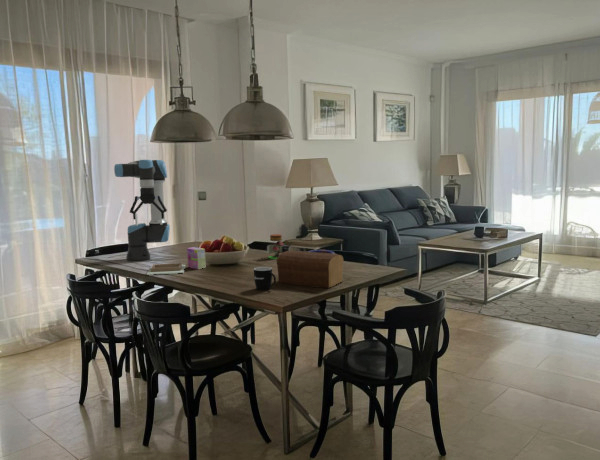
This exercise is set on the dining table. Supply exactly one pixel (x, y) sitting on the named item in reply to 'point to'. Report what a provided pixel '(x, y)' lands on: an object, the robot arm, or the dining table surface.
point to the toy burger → (275, 246)
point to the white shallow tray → (166, 269)
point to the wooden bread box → (310, 268)
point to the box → (196, 258)
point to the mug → (263, 278)
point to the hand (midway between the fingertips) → (149, 224)
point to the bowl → (322, 251)
